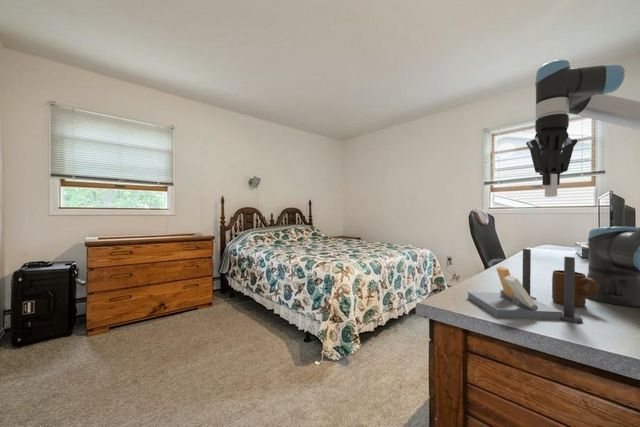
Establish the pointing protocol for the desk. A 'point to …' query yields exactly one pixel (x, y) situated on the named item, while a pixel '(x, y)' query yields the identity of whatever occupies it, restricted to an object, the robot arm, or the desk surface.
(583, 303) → the mug
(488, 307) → the panel
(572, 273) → the post
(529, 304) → the paddle
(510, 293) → the paddle
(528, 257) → the post
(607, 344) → the desk surface
